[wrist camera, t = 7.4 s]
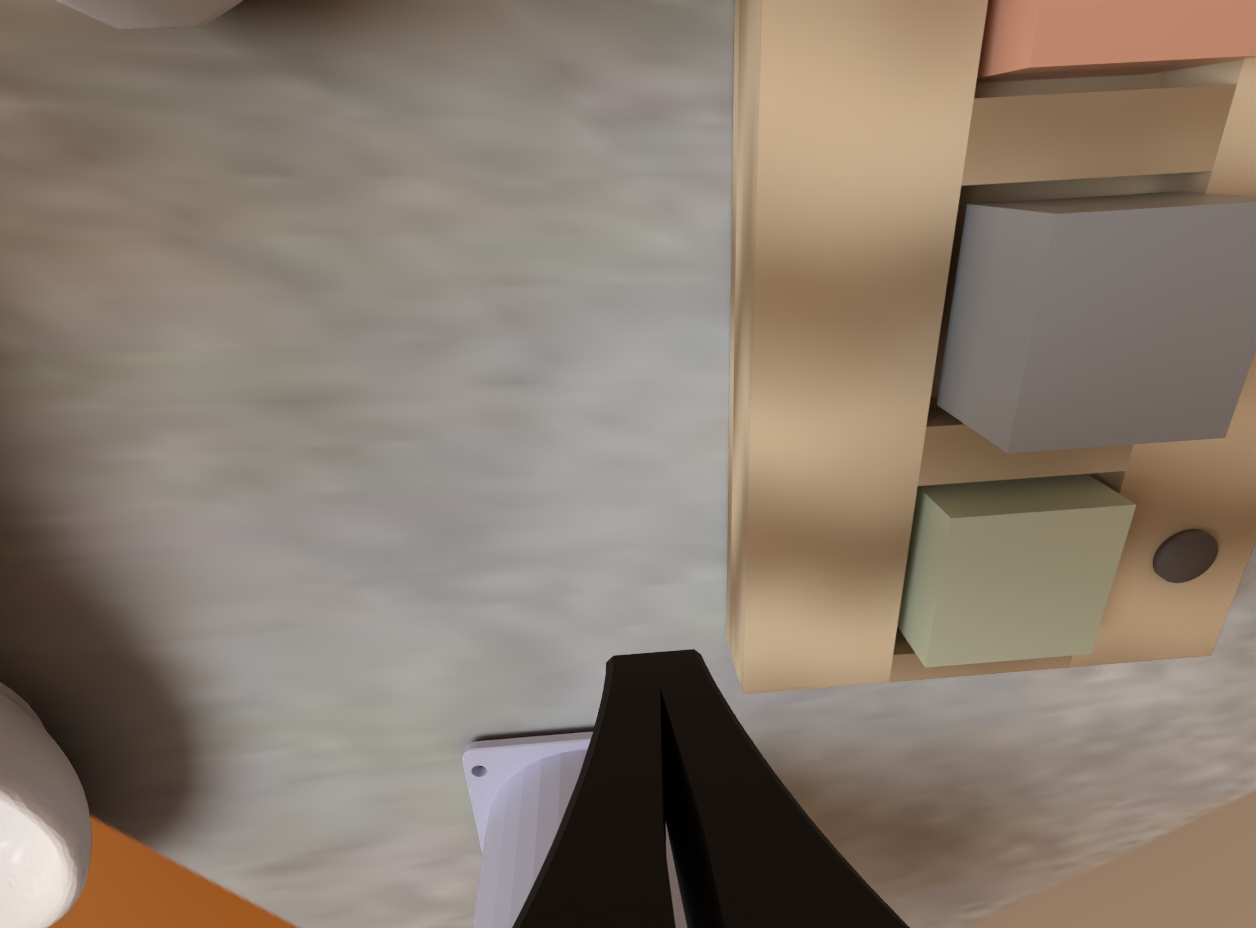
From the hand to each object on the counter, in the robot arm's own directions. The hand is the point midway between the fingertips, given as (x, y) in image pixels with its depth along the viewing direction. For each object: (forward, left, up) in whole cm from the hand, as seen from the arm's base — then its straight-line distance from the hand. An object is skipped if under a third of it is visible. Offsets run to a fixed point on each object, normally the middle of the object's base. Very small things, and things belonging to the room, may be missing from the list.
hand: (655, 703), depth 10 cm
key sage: (-3, -10, -9) cm, 14 cm away
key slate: (+4, -10, -7) cm, 13 cm away
